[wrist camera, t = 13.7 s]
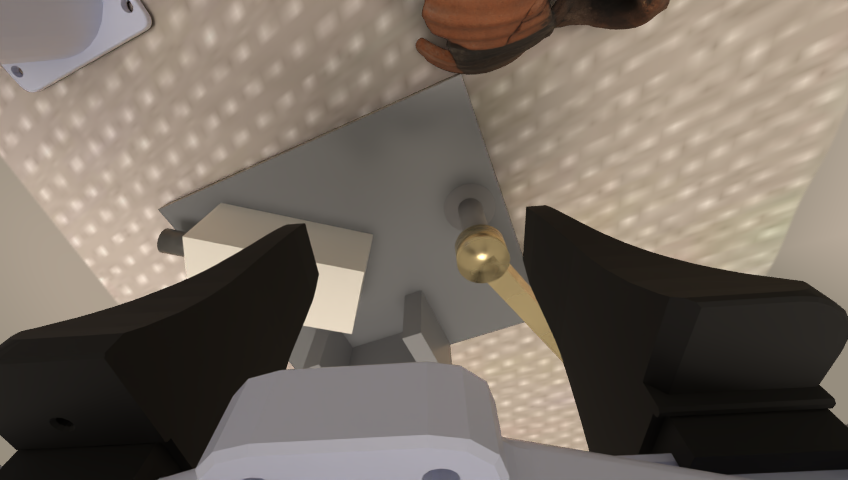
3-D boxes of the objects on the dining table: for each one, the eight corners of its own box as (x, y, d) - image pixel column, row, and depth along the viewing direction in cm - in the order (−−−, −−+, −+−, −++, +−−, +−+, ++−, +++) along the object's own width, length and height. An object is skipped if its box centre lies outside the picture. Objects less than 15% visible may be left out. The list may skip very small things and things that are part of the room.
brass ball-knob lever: (574, 378, 23) (582, 398, 22) (444, 243, 18) (446, 259, 17) (610, 360, 22) (621, 380, 21) (485, 214, 17) (489, 229, 16)
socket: (164, 205, 22) (106, 245, 18) (460, 72, 19) (470, 85, 15) (312, 380, 30) (295, 435, 26) (540, 310, 27) (562, 362, 22)
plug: (184, 257, 23) (142, 297, 20) (177, 193, 21) (130, 226, 18) (361, 291, 25) (351, 334, 21) (373, 234, 23) (364, 272, 19)
